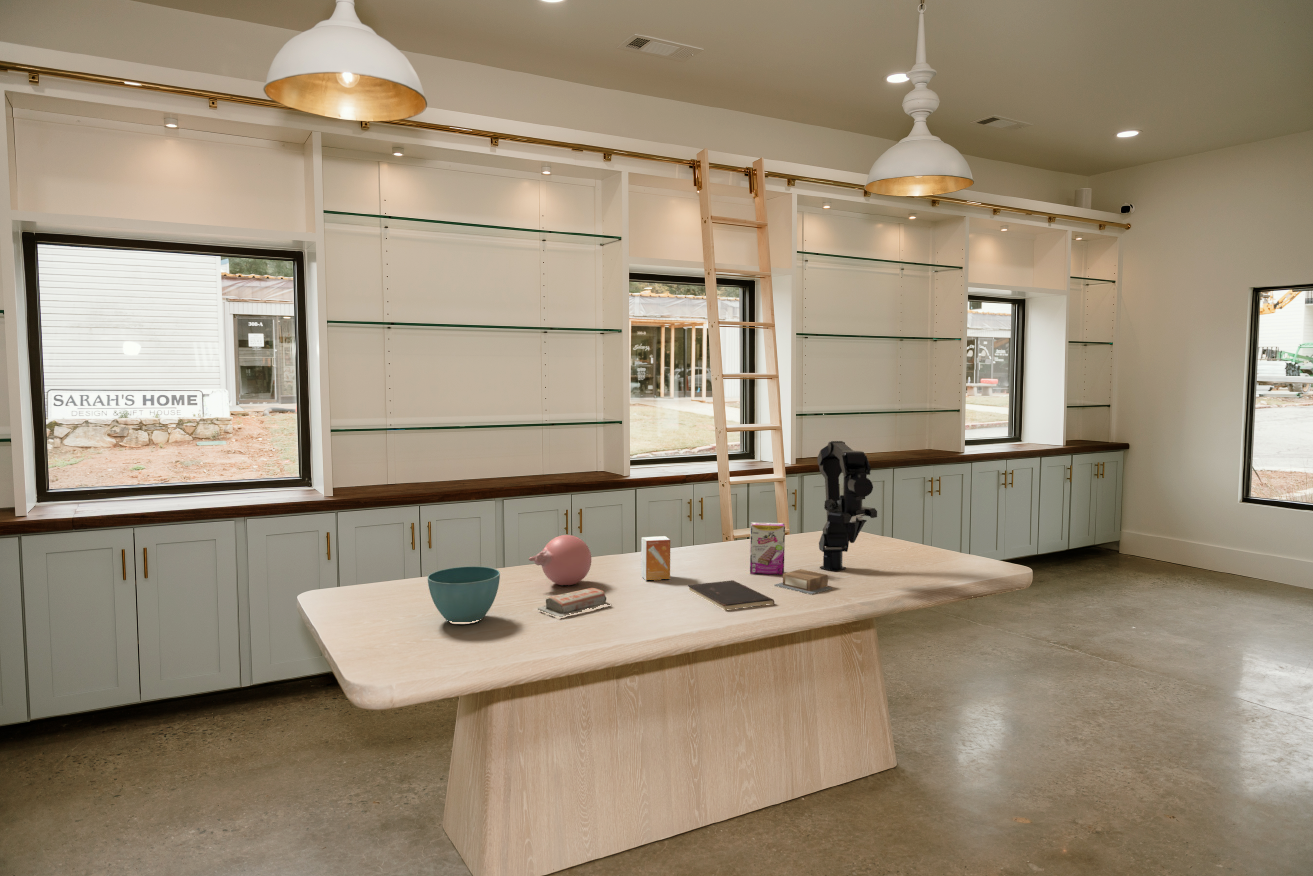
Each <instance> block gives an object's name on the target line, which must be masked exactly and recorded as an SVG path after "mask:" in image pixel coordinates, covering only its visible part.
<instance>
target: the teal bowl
mask: <svg viewBox="0 0 1313 876" xmlns="http://www.w3.org/2000/svg"><path fill="white" fill-rule="evenodd" d="M500 579H501V572H500V571H499V569H496V568H494V567H488V566H479V565H478V566H470V565H469V566H456V567H450V568H443V569H441V570H436V571H433V572H432V573H429V575H428V576H427V586H428V590H429V594H430V596H431V599H432V602H433V604H434V606H435V608H436V609H437V612H439V613H440V615H441V616H442V617H443V618H444V619H445V620H446V621H447V620H448V621H452V622H472V621H476V620H480V619H482V618H483V617H486V615H487V614H488V612H489V611H490V609H491V608H492V606H493V604H494V602H495V599H496V596H497V593H498V590H499V586H500ZM483 619H484V618H483ZM483 619H482V620H483ZM448 621H447V622H448Z"/></svg>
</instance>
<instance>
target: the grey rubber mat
mask: <svg viewBox="0 0 1313 876" xmlns="http://www.w3.org/2000/svg"><path fill="white" fill-rule="evenodd" d="M773 585H774V586H775V587H778V586H779V587H778V588H782V587H783V589H786V588H787V590H790V589H791V591H794V590H795V592H798V591H800V592H799V593H803V592H804V593H803V594H807V593H808V595H811V594H812V595H815V594H814V593H816V594H818V592H819V593H821V592H822V591H823V592H825V591H830V590H832V589H833V587H830V586H826V587H823V588H820V589H816V590H813V591H806V590H802V589H798V588H793V587H789V586H785V585H783V582H778V583H776V584H773Z"/></svg>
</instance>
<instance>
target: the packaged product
mask: <svg viewBox="0 0 1313 876" xmlns="http://www.w3.org/2000/svg"><path fill="white" fill-rule="evenodd" d="M545 604H546V605H542V606H538V607H537V611H538V610H540V611H543V612H546V613H549V614H551V615H554V616H559V617H563V616H566V615H570V614H569V613H571V614H574V613H578V612H582V610H585V609H587V608H589V609H590V608H592V609H594V608H596V607H598V606H600V605H604V604H607V605H610V604H611V603H610V602H607V596H606V593H605V592H604V591H603V590H602V589H599V588H596V587H590V588H589V587H588V588H584V589H580V590H576V591H575V590H574V591H571V592H567V593H566V592H565V593H561V594H556V595H552V596H549V597H547V598H545Z"/></svg>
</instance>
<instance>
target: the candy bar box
mask: <svg viewBox="0 0 1313 876" xmlns="http://www.w3.org/2000/svg"><path fill="white" fill-rule="evenodd" d="M785 525H786V524H785V523H784V522H756V521H751V522H750V539H749V540H750V543H749V544H750V545H749V546H750V547H749V548H750V549H749V572H750V573H749V574H751V575H775V574H776V575H778V576H779V575H780V576H783V574H784V573H785V546H786V545H785V541H786V539H785V537H786V526H785Z"/></svg>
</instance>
